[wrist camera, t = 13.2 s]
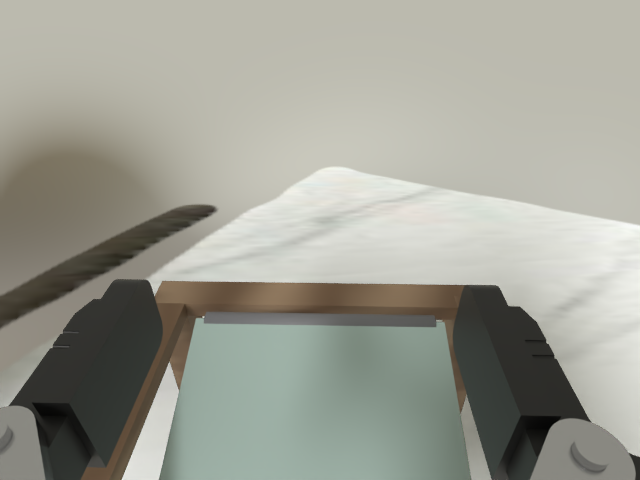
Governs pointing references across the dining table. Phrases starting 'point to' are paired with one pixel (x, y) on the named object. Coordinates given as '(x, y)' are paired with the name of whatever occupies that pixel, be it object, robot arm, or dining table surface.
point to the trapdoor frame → (326, 298)
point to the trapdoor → (317, 400)
